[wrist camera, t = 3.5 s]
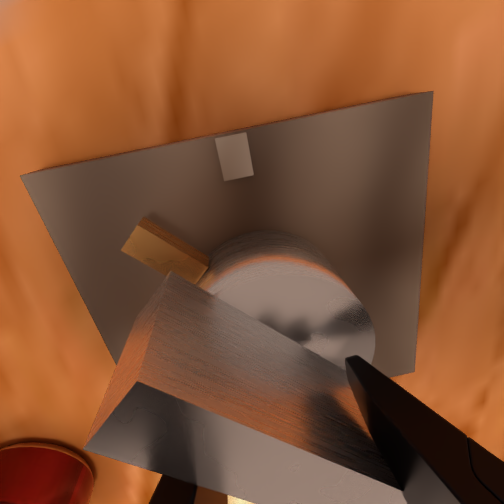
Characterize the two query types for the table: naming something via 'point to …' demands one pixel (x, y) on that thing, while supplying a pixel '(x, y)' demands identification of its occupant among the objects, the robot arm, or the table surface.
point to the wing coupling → (245, 375)
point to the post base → (258, 210)
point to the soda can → (43, 475)
